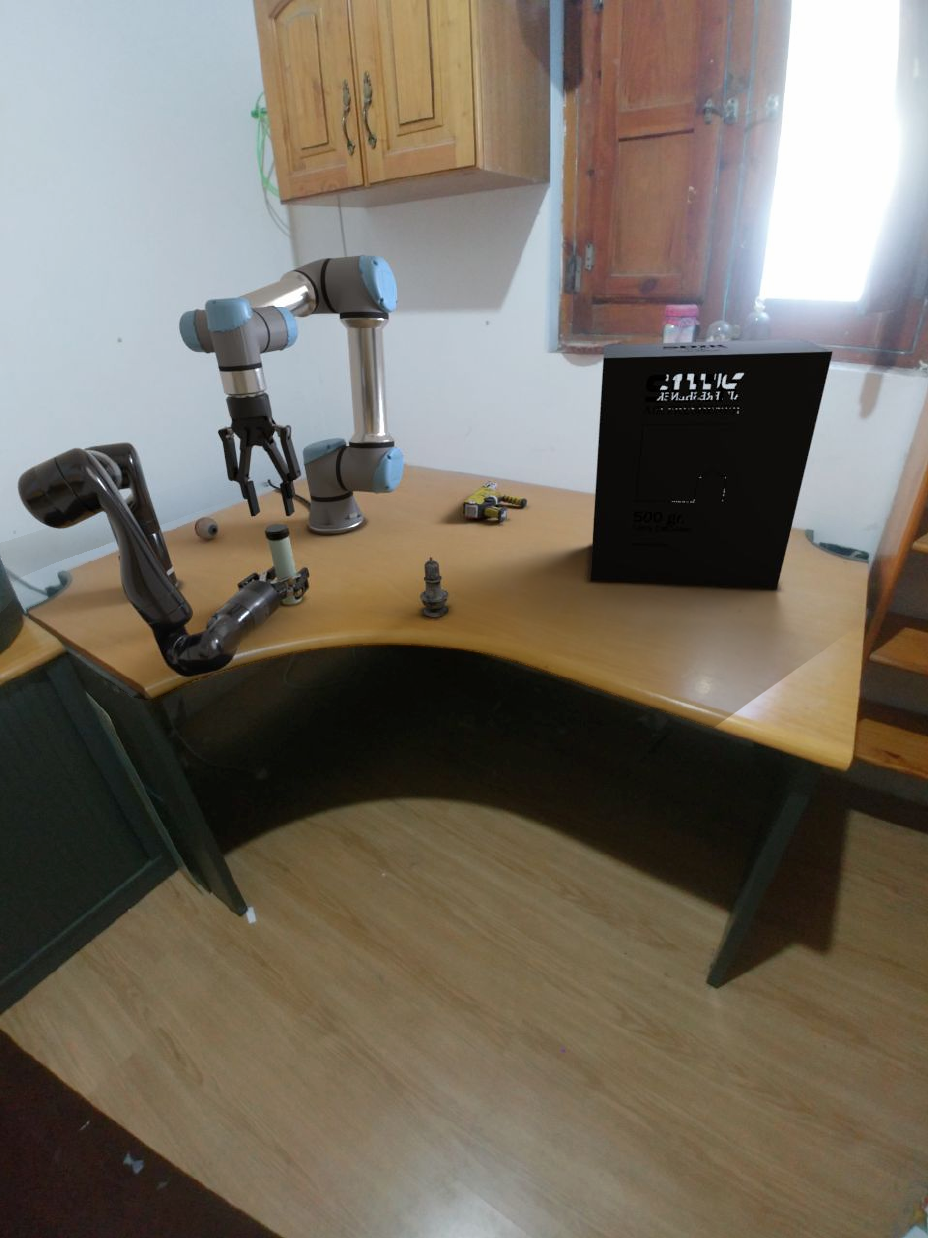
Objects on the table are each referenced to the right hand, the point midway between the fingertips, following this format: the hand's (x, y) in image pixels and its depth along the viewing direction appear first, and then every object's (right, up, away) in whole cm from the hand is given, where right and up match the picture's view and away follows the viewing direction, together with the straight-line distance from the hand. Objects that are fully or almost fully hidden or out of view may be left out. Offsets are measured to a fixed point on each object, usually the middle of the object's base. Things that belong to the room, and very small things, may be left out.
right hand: (273, 513), depth 121 cm
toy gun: (+49, +11, +53) cm, 73 cm away
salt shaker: (+33, -20, +2) cm, 38 cm away
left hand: (+1, -11, +9) cm, 14 cm away
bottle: (+1, -17, +10) cm, 20 cm away
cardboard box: (+86, -9, +15) cm, 88 cm away
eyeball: (-31, +1, +44) cm, 54 cm away
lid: (0, -3, +2) cm, 3 cm away
